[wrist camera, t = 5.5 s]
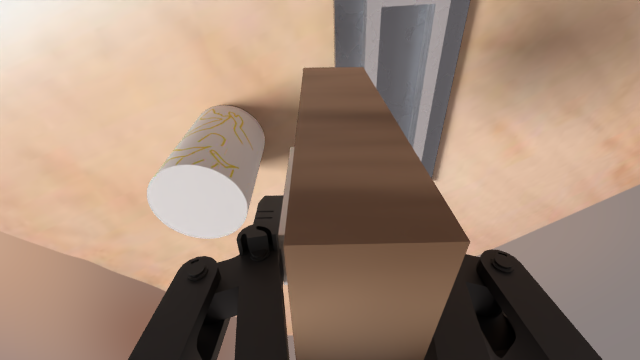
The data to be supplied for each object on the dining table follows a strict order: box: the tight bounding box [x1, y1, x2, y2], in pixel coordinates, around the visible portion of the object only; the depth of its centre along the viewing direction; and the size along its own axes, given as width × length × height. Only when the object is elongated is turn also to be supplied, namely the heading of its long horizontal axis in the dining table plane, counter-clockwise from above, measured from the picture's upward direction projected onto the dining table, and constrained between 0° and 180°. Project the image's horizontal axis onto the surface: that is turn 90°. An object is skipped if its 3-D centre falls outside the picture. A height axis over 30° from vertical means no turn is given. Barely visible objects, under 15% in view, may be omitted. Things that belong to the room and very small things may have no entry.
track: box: [333, 0, 470, 179], centre depth 31 cm, size 22×12×3 cm, turn 3°
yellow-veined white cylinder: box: [147, 105, 265, 239], centre depth 29 cm, size 8×8×12 cm
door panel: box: [283, 67, 470, 360], centre depth 12 cm, size 10×3×12 cm, turn 0°
